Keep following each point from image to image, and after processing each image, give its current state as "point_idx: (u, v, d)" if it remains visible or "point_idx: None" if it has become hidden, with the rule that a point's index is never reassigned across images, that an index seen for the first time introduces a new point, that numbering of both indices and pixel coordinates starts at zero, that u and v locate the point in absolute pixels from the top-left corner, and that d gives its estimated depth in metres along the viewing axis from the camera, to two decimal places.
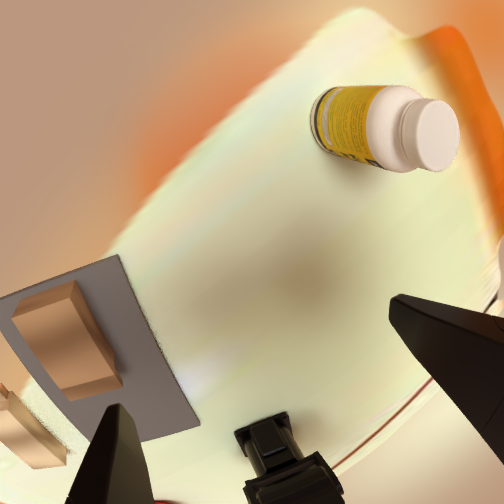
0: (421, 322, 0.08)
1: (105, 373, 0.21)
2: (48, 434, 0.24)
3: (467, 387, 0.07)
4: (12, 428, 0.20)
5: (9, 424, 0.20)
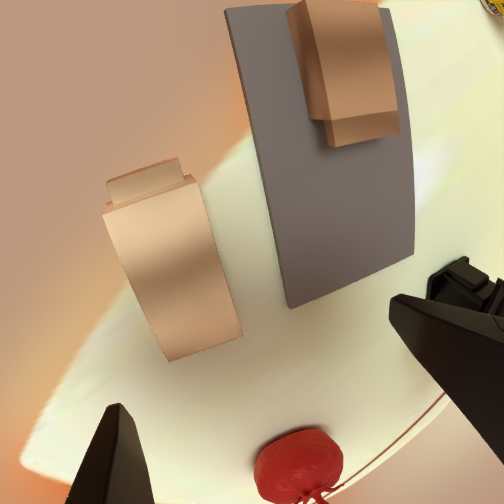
0: (421, 322, 0.08)
1: (390, 105, 0.16)
2: None
3: (467, 387, 0.07)
4: (181, 238, 0.16)
5: (180, 226, 0.16)
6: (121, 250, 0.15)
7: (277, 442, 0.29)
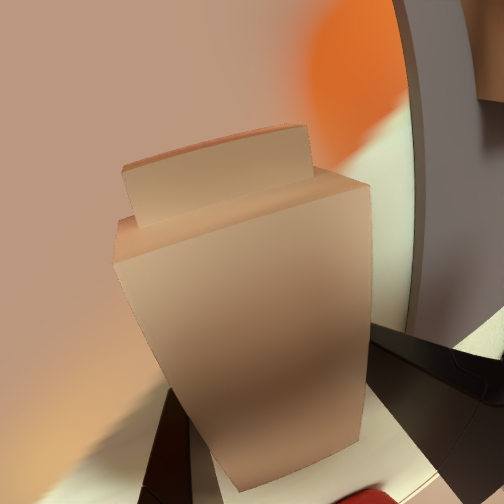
0: (371, 351, 0.08)
1: None
2: None
3: (421, 423, 0.07)
4: (313, 314, 0.07)
5: (316, 289, 0.07)
6: (166, 350, 0.06)
7: None
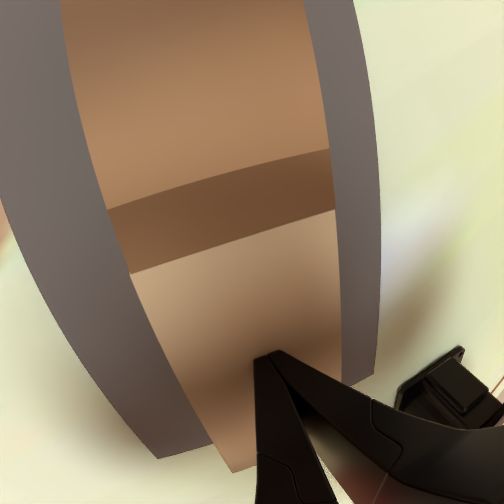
0: (288, 390, 0.07)
1: (304, 138, 0.07)
2: None
3: (341, 471, 0.06)
4: (289, 314, 0.09)
5: (291, 293, 0.08)
6: (170, 342, 0.08)
7: None
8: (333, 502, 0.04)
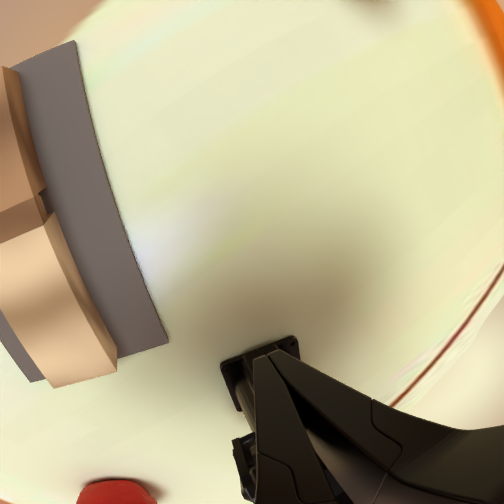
0: (288, 390, 0.07)
1: (21, 194, 0.12)
2: (94, 311, 0.18)
3: (341, 471, 0.06)
4: (38, 278, 0.14)
5: (35, 267, 0.14)
6: None
7: (92, 485, 0.25)
8: (333, 502, 0.04)
